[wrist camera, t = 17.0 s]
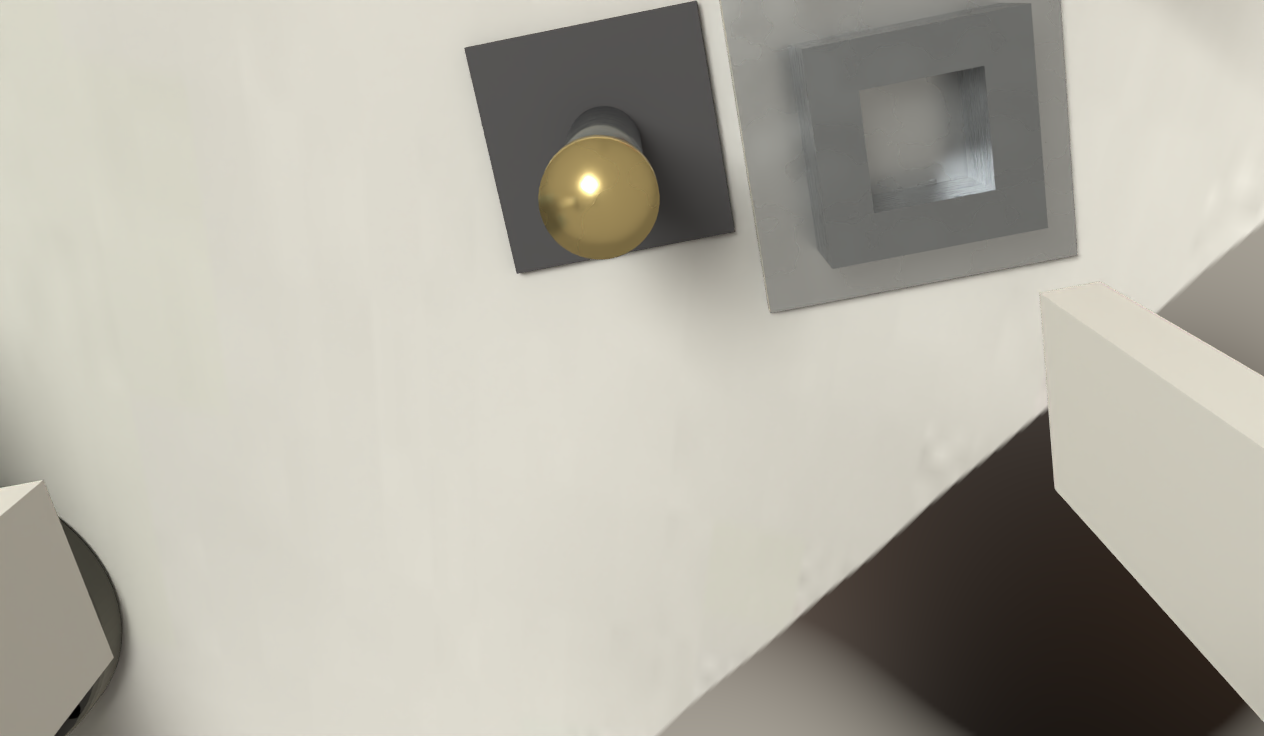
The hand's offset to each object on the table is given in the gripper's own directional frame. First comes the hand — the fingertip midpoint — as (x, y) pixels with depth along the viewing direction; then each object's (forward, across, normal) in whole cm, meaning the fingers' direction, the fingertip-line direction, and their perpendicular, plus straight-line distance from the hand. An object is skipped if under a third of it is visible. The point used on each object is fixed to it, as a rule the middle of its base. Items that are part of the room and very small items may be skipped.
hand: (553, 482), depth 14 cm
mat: (+36, 0, 0) cm, 36 cm away
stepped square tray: (+36, +13, -2) cm, 39 cm away
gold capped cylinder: (+36, 0, 0) cm, 36 cm away
